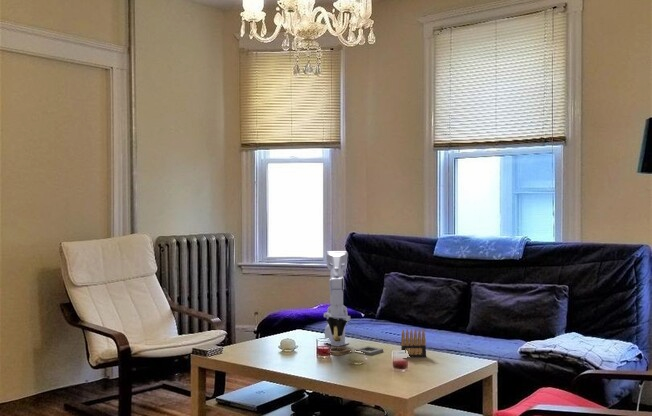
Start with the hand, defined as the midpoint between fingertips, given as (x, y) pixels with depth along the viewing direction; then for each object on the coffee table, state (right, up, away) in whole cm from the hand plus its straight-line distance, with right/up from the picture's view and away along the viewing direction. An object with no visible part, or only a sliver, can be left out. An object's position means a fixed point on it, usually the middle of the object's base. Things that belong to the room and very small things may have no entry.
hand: (337, 335), depth 291 cm
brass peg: (0, -2, 0) cm, 2 cm away
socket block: (+14, -8, 0) cm, 16 cm away
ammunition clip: (+33, -8, -9) cm, 35 cm away
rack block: (0, -8, 0) cm, 8 cm away
